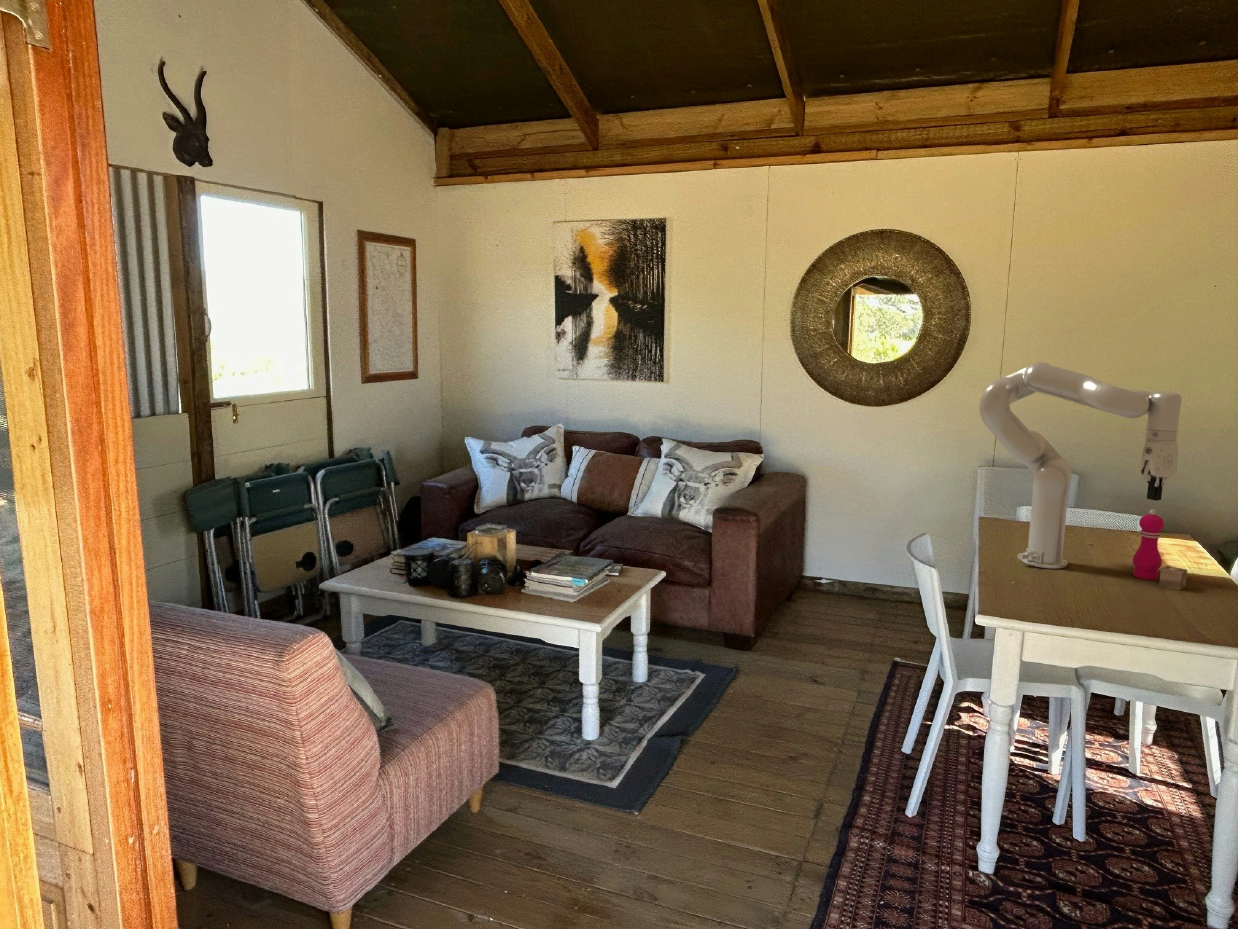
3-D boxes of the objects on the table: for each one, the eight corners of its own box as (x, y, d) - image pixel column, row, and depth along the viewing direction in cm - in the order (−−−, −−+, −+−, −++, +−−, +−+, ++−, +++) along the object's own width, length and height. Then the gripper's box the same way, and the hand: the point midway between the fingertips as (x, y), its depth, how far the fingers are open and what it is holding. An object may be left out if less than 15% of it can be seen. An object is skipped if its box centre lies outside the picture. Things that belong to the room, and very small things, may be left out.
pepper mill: (1164, 581, 248) (1172, 512, 244) (1136, 579, 249) (1144, 511, 246) (1154, 573, 255) (1161, 507, 251) (1127, 572, 256) (1134, 506, 253)
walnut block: (1179, 590, 240) (1181, 572, 239) (1159, 586, 244) (1161, 568, 243) (1185, 586, 243) (1187, 569, 242) (1165, 582, 247) (1167, 565, 246)
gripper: (1157, 439, 239) (1149, 504, 242) (1191, 436, 245) (1183, 499, 248) (1131, 435, 245) (1124, 499, 248) (1164, 432, 252) (1157, 494, 255)
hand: (1153, 499), depth 248 cm, fingers closed
